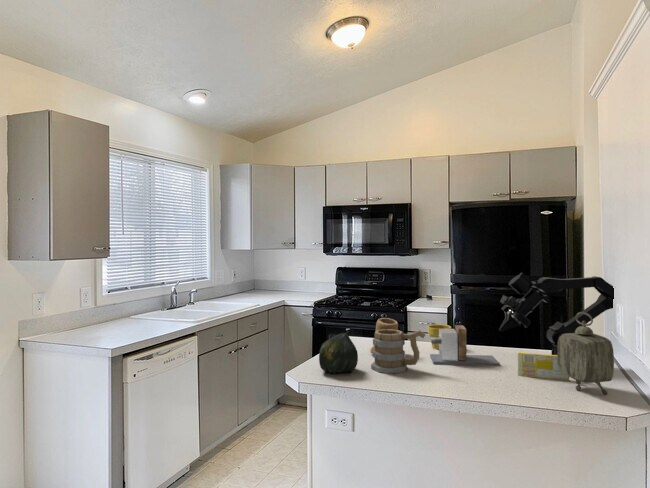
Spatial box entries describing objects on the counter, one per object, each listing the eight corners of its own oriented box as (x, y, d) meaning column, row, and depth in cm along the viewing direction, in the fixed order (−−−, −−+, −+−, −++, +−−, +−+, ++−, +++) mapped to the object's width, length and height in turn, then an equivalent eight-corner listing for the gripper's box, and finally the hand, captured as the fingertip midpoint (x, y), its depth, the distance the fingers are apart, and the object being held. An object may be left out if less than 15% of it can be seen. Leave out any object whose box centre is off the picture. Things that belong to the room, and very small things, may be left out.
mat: (492, 357, 184) (492, 355, 184) (499, 365, 172) (499, 363, 172) (430, 356, 187) (430, 354, 187) (433, 364, 175) (433, 361, 175)
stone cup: (395, 358, 185) (395, 322, 185) (367, 356, 189) (367, 320, 189) (401, 350, 199) (401, 316, 199) (375, 348, 203) (375, 315, 203)
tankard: (368, 371, 166) (368, 331, 166) (376, 362, 178) (376, 325, 178) (423, 376, 159) (422, 334, 159) (427, 367, 171) (427, 328, 171)
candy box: (568, 379, 155) (568, 355, 155) (569, 381, 153) (569, 357, 153) (517, 374, 162) (517, 351, 162) (517, 375, 160) (517, 352, 160)
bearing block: (454, 355, 184) (453, 328, 184) (457, 361, 175) (457, 333, 175) (439, 355, 185) (438, 328, 185) (441, 360, 176) (441, 333, 176)
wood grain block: (462, 355, 183) (462, 325, 183) (466, 360, 175) (466, 329, 175) (430, 354, 185) (430, 324, 185) (432, 359, 177) (432, 328, 177)
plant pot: (426, 349, 199) (425, 327, 199) (429, 344, 209) (429, 323, 209) (450, 351, 195) (449, 329, 195) (452, 346, 205) (452, 325, 205)
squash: (305, 355, 169) (325, 329, 162) (332, 350, 179) (351, 325, 173) (325, 386, 161) (347, 360, 155) (352, 379, 172) (373, 354, 166)
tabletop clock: (614, 396, 137) (613, 315, 137) (589, 398, 135) (588, 316, 135) (578, 382, 151) (577, 308, 151) (555, 384, 150) (554, 309, 150)
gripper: (506, 285, 186) (479, 312, 187) (521, 291, 167) (491, 321, 169) (526, 304, 185) (499, 330, 187) (543, 312, 167) (513, 341, 168)
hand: (500, 330), depth 178 cm, fingers closed
